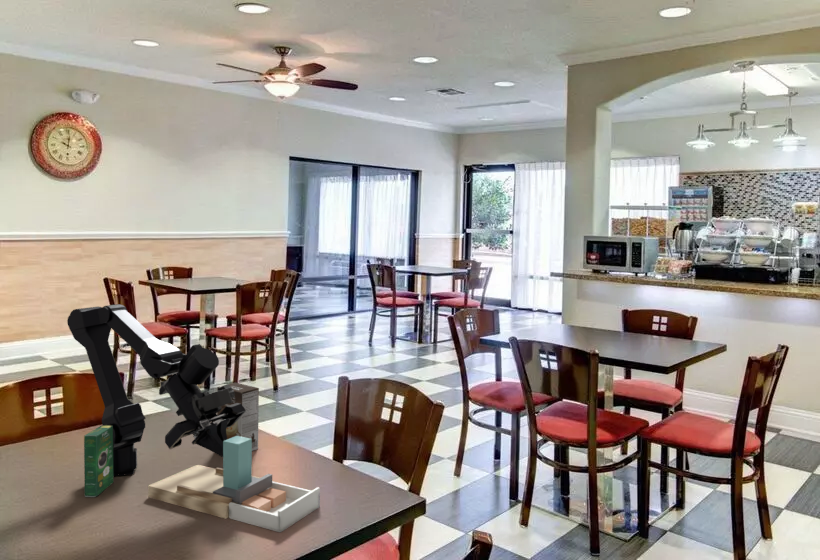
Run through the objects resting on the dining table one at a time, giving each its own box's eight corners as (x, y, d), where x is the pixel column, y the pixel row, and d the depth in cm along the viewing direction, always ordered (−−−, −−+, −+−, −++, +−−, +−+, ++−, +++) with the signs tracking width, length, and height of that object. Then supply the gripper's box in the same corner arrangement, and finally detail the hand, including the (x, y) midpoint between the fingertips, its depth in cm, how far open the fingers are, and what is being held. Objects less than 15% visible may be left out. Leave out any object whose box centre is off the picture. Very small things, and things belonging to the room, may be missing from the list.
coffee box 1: (101, 482, 145) (100, 423, 144) (114, 482, 145) (113, 424, 144) (83, 497, 137) (82, 435, 136) (97, 497, 137) (96, 435, 136)
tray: (228, 518, 129) (228, 498, 129) (271, 494, 141) (271, 476, 140) (280, 532, 124) (280, 511, 123) (319, 506, 135) (319, 487, 135)
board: (148, 497, 138) (148, 480, 138) (197, 475, 151) (197, 460, 150) (226, 518, 129) (225, 501, 128) (271, 493, 141) (271, 477, 141)
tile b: (241, 511, 130) (241, 502, 130) (254, 504, 134) (255, 495, 134) (257, 517, 128) (258, 507, 128) (270, 509, 132) (271, 500, 132)
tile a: (257, 504, 135) (257, 494, 135) (270, 497, 138) (270, 487, 138) (273, 508, 133) (273, 498, 133) (285, 500, 136) (285, 491, 136)
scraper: (212, 496, 133) (212, 445, 132) (246, 479, 142) (246, 431, 141) (240, 503, 130) (240, 451, 129) (272, 486, 138) (272, 437, 138)
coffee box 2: (215, 448, 169) (215, 386, 167) (234, 441, 174) (234, 381, 173) (241, 455, 164) (241, 392, 162) (259, 448, 169) (260, 387, 168)
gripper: (174, 383, 129) (218, 448, 125) (239, 366, 146) (279, 423, 142) (146, 417, 133) (187, 480, 129) (212, 396, 150) (250, 452, 146)
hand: (228, 457), depth 137 cm, fingers closed, pressing on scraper
